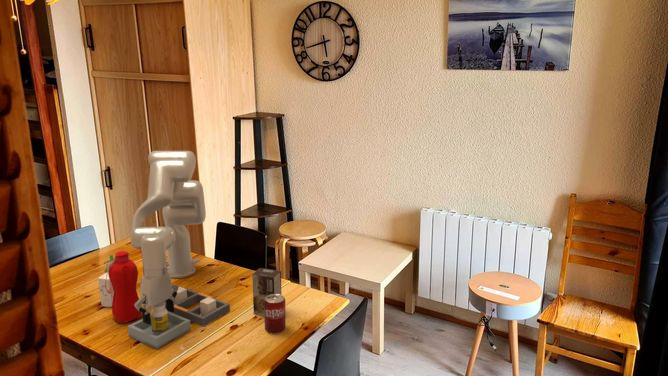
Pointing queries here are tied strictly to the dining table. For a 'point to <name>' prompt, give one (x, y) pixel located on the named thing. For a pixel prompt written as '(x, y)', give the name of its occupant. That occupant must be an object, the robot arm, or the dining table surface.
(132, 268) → the water bottle
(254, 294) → the coffee box
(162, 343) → the tray
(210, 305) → the block
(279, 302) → the soda can
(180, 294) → the block
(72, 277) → the dining table surface
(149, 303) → the robot arm
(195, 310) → the holder block
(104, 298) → the ink cartridge box
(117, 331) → the dining table surface
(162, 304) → the supplement bottle
